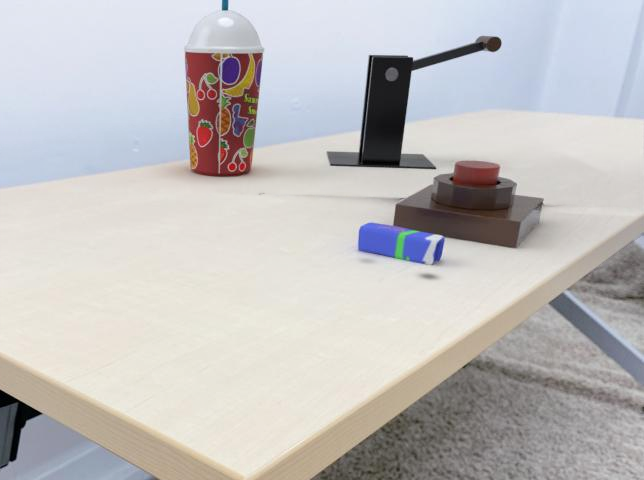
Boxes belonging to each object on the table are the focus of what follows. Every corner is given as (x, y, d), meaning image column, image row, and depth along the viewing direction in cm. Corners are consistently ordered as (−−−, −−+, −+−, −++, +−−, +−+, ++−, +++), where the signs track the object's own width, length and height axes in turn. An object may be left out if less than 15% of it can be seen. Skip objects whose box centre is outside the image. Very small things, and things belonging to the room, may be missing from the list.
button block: (538, 222, 63) (548, 177, 62) (515, 249, 56) (525, 198, 54) (427, 206, 68) (433, 165, 67) (392, 229, 61) (398, 182, 59)
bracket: (421, 163, 90) (437, 55, 84) (434, 177, 81) (452, 58, 76) (326, 160, 91) (335, 53, 86) (329, 174, 83) (339, 57, 78)
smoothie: (263, 187, 76) (273, -22, 68) (185, 187, 75) (186, -23, 67) (252, 172, 83) (260, -17, 75) (181, 172, 83) (182, -19, 75)
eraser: (431, 267, 51) (436, 240, 51) (356, 251, 55) (359, 226, 54) (441, 260, 53) (445, 234, 52) (367, 245, 56) (370, 221, 55)
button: (500, 183, 61) (504, 163, 60) (491, 191, 58) (494, 169, 58) (458, 178, 63) (461, 158, 62) (446, 185, 60) (450, 164, 59)
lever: (490, 51, 82) (487, 30, 81) (503, 53, 77) (500, 30, 76) (375, 85, 85) (371, 64, 84) (380, 88, 80) (376, 67, 79)
